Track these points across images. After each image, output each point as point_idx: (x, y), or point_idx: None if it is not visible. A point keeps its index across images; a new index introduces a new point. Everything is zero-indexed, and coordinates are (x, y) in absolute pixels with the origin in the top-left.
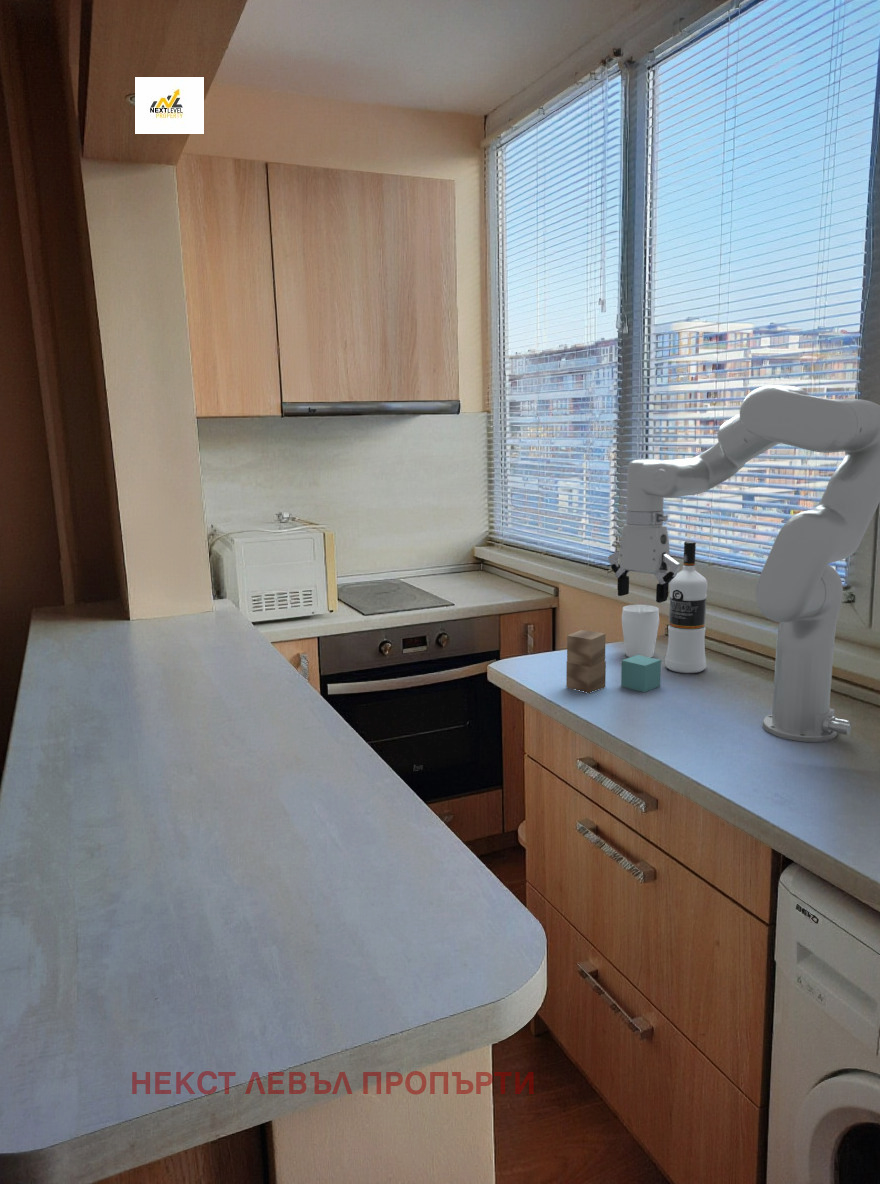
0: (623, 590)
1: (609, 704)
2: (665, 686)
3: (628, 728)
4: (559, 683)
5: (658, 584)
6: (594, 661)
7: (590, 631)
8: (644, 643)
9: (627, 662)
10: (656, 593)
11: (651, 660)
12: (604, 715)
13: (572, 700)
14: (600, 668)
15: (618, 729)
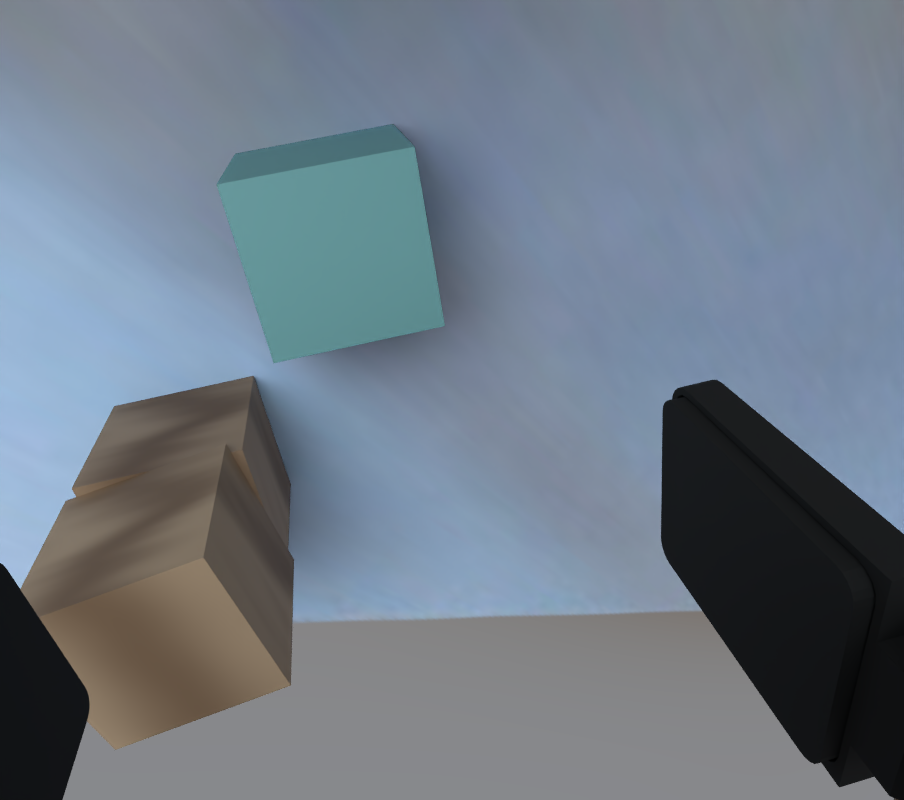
0: (39, 722)
1: (445, 488)
2: (417, 105)
3: (643, 559)
4: None
5: (863, 774)
6: (280, 552)
7: (80, 604)
8: None
9: (317, 351)
10: (724, 637)
11: (385, 211)
12: (516, 558)
13: (325, 568)
14: (259, 470)
15: (627, 585)
